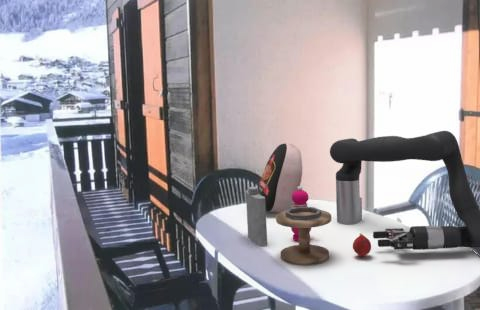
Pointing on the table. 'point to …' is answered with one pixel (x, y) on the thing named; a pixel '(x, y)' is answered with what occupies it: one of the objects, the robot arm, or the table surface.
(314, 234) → the table surface
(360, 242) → the onion
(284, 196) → the packaged food
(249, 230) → the hip flask
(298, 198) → the pepper mill
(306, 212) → the ring stand
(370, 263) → the table surface
